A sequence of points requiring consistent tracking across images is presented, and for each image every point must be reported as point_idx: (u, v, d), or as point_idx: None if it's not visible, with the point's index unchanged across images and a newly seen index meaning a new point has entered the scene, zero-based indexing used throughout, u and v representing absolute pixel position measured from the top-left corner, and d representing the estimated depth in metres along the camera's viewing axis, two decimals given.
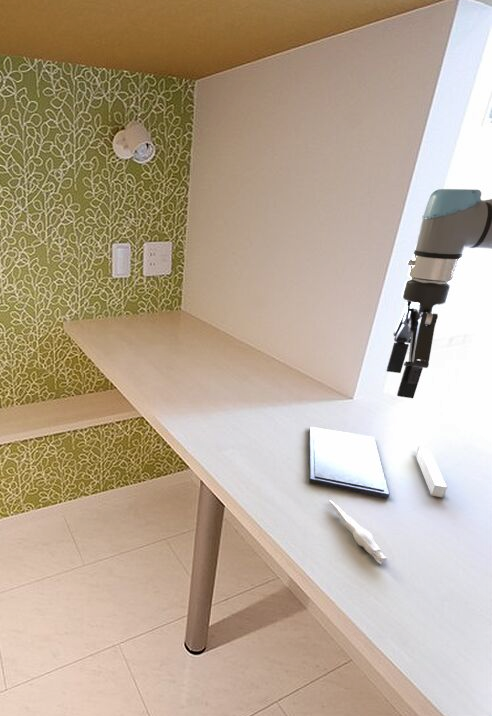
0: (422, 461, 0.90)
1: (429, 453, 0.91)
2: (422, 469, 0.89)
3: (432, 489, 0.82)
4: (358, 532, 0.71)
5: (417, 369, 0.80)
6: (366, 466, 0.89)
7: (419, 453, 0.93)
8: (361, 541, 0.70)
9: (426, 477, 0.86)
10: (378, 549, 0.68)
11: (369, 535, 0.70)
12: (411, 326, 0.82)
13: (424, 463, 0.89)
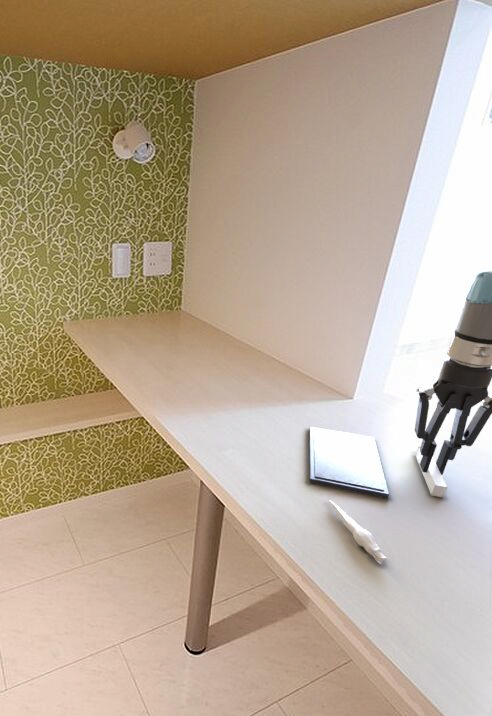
0: None
1: None
2: None
3: (432, 489, 0.82)
4: (358, 532, 0.71)
5: None
6: (366, 466, 0.89)
7: (419, 453, 0.93)
8: (361, 541, 0.70)
9: (426, 477, 0.86)
10: (378, 549, 0.68)
11: (369, 535, 0.70)
12: (469, 412, 0.79)
13: None
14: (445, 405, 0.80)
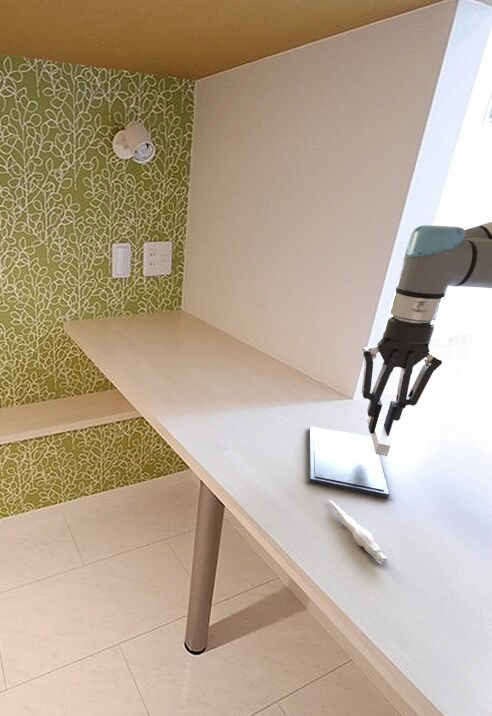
0: None
1: (379, 416, 0.92)
2: None
3: (376, 448, 0.83)
4: (358, 532, 0.71)
5: None
6: (366, 466, 0.89)
7: (369, 417, 0.93)
8: (361, 541, 0.70)
9: (373, 438, 0.87)
10: (378, 549, 0.68)
11: (369, 535, 0.70)
12: None
13: None
14: (388, 363, 0.81)
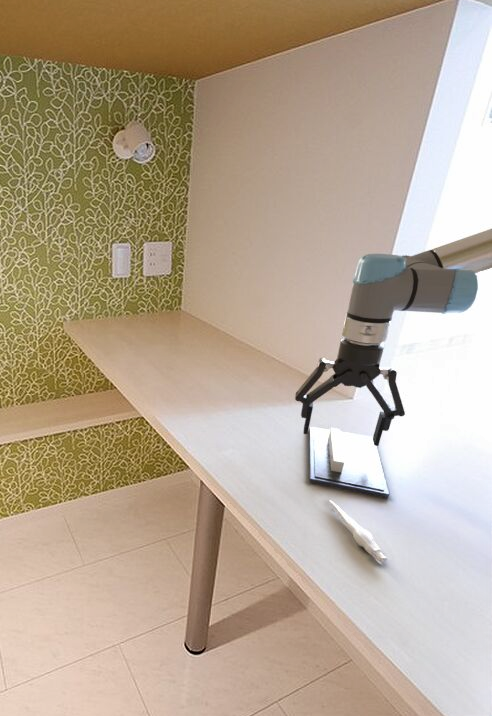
0: (330, 440, 0.95)
1: (338, 433, 0.96)
2: (330, 447, 0.94)
3: (332, 465, 0.87)
4: (358, 532, 0.71)
5: None
6: (366, 466, 0.89)
7: (330, 433, 0.97)
8: (361, 541, 0.70)
9: (330, 454, 0.91)
10: (378, 549, 0.68)
11: (369, 535, 0.70)
12: (373, 385, 0.83)
13: (331, 442, 0.93)
14: (337, 378, 0.85)
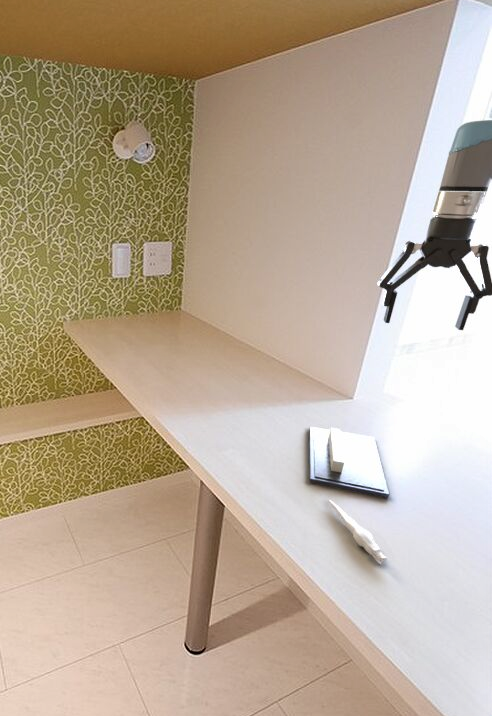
0: (330, 440, 0.95)
1: (338, 433, 0.96)
2: (330, 447, 0.94)
3: (332, 465, 0.87)
4: (358, 532, 0.71)
5: None
6: (366, 466, 0.89)
7: (330, 433, 0.97)
8: (361, 541, 0.70)
9: (330, 454, 0.91)
10: (378, 549, 0.68)
11: (369, 535, 0.70)
12: None
13: (331, 442, 0.93)
14: (426, 258, 0.85)
